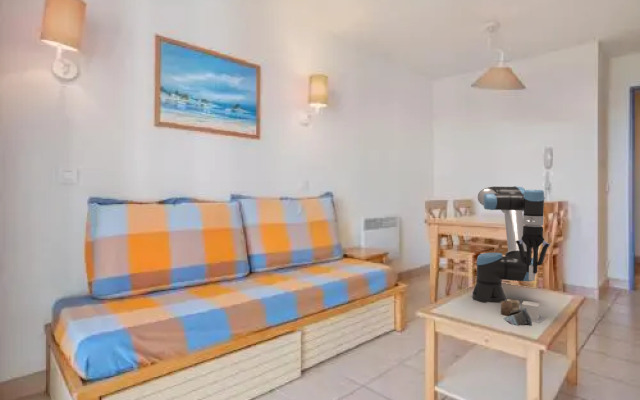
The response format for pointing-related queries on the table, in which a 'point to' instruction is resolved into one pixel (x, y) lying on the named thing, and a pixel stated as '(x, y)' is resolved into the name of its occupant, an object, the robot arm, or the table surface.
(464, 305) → the table surface
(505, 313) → the walnut cylinder
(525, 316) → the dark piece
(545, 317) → the mat
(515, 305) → the beech cube
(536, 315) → the plain block
